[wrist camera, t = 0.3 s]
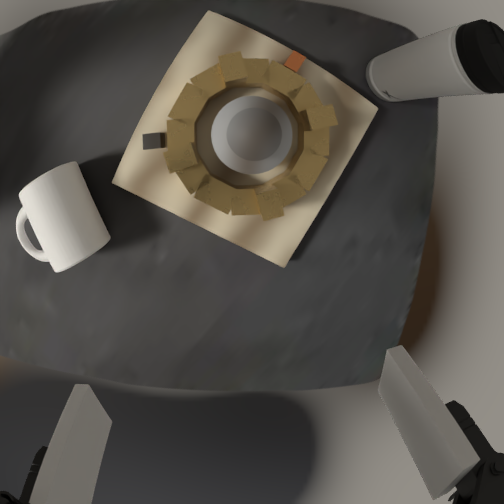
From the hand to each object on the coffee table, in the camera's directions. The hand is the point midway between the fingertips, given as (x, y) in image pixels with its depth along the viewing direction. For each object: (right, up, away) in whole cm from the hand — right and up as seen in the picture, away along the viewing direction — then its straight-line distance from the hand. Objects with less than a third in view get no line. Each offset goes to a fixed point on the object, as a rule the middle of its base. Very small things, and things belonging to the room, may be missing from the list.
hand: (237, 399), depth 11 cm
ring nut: (+1, +19, +17) cm, 26 cm away
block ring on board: (0, +19, +20) cm, 27 cm away
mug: (-23, +11, +21) cm, 33 cm away
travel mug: (+17, +28, +18) cm, 37 cm away
